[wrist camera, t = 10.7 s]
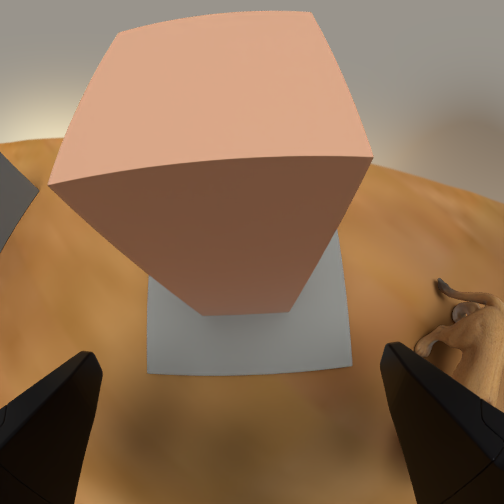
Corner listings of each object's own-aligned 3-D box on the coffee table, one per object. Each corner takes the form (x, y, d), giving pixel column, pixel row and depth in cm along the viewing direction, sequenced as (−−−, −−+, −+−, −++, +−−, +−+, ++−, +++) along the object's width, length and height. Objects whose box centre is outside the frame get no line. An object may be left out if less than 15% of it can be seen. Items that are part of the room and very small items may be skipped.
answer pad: (349, 365, 16) (352, 365, 16) (150, 373, 16) (147, 373, 16) (327, 188, 20) (328, 183, 20) (158, 197, 21) (156, 193, 20)
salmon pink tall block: (289, 312, 17) (373, 157, 4) (202, 315, 17) (47, 185, 4) (282, 228, 19) (309, 8, 6) (203, 232, 19) (121, 28, 6)
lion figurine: (449, 474, 13) (528, 507, 4) (386, 490, 13) (454, 548, 5) (460, 281, 18) (544, 233, 9) (401, 279, 18) (483, 222, 10)
